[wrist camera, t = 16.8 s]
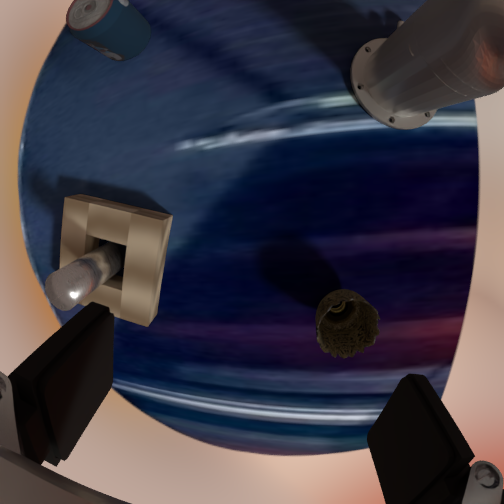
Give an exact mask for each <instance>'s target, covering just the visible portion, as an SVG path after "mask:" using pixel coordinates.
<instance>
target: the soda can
mask: <svg viewBox="0 0 504 504" xmlns="http://www.w3.org/2000/svg"><path fill="white" fill-rule="evenodd" d="M66 22H67V25H68V26H69V28H70V31H71V33H72V35H73V36H74V37H75V38H77V39H79V40H80V41H82V42H84V43H86V44H87V45H89V46H91V47H92V48H94V49H96V50H97V51H99V52H100V53H102V54H104V55H105V56H107V57H108V58H110V59H112V60H115V61H124V60H128V59H131V58H133V57H135V56H137V55H138V54H139V53H141V52H142V51H143V50H144V49H145V47H146V46H147V44H148V42H149V39H150V36H151V27H150V25H149V23H148V22H147V20H146V19H145V18H144V17H143V16H142V15H141V14H140V13H139V12H138V10H137V9H136V8H135V7H134V6H133V5H132V4H131V3H130V2H129V1H128V0H74V1H73V2H72V4H71V5H70V7H69V9H68V12H67V15H66Z"/></svg>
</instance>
